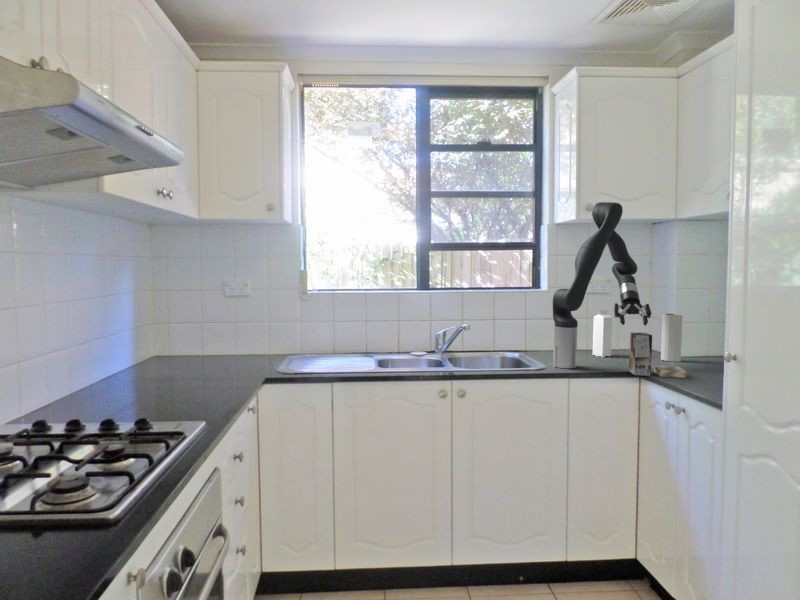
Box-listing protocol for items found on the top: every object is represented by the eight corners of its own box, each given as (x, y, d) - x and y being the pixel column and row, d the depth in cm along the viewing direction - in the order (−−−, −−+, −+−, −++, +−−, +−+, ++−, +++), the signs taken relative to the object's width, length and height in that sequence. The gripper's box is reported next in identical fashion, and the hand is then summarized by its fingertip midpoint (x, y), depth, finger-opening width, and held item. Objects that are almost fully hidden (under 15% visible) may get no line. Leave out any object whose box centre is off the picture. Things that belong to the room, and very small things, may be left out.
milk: (592, 355, 245) (593, 309, 244) (601, 354, 248) (602, 309, 247) (602, 357, 240) (603, 310, 239) (611, 356, 243) (612, 310, 242)
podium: (660, 376, 199) (660, 369, 199) (654, 371, 207) (654, 365, 207) (685, 377, 197) (685, 370, 197) (678, 372, 206) (678, 366, 205)
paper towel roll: (657, 359, 235) (659, 313, 234) (669, 359, 237) (670, 313, 235) (668, 362, 228) (670, 315, 227) (680, 362, 229) (682, 314, 228)
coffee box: (651, 376, 199) (653, 335, 198) (633, 375, 201) (635, 334, 200) (645, 371, 208) (646, 332, 207) (628, 370, 210) (629, 331, 208)
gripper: (613, 289, 224) (617, 318, 213) (648, 289, 221) (654, 318, 210) (610, 300, 229) (615, 329, 219) (644, 301, 226) (650, 330, 216)
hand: (634, 324), depth 214 cm, fingers open, 8 cm apart
